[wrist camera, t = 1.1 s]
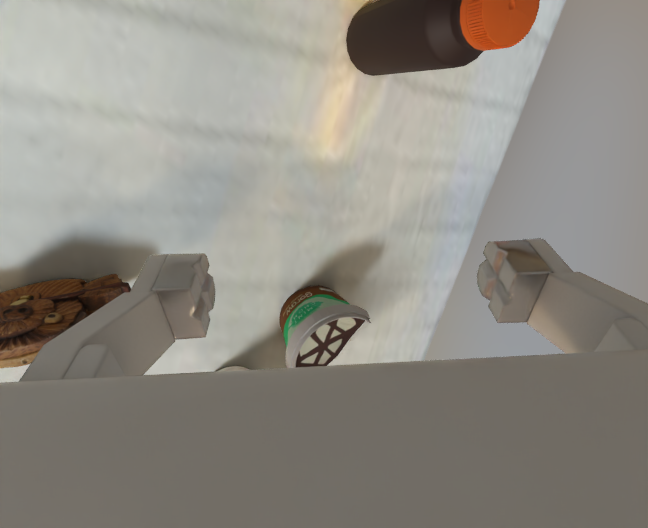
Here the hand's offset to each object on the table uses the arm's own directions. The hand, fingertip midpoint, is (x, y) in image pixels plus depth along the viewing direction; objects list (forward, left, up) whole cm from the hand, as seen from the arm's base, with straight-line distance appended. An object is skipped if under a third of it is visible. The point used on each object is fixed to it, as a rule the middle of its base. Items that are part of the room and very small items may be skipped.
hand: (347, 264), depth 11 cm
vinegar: (+4, +20, -35) cm, 40 cm away
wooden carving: (-1, -24, -35) cm, 42 cm away
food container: (+22, -8, -35) cm, 42 cm away
